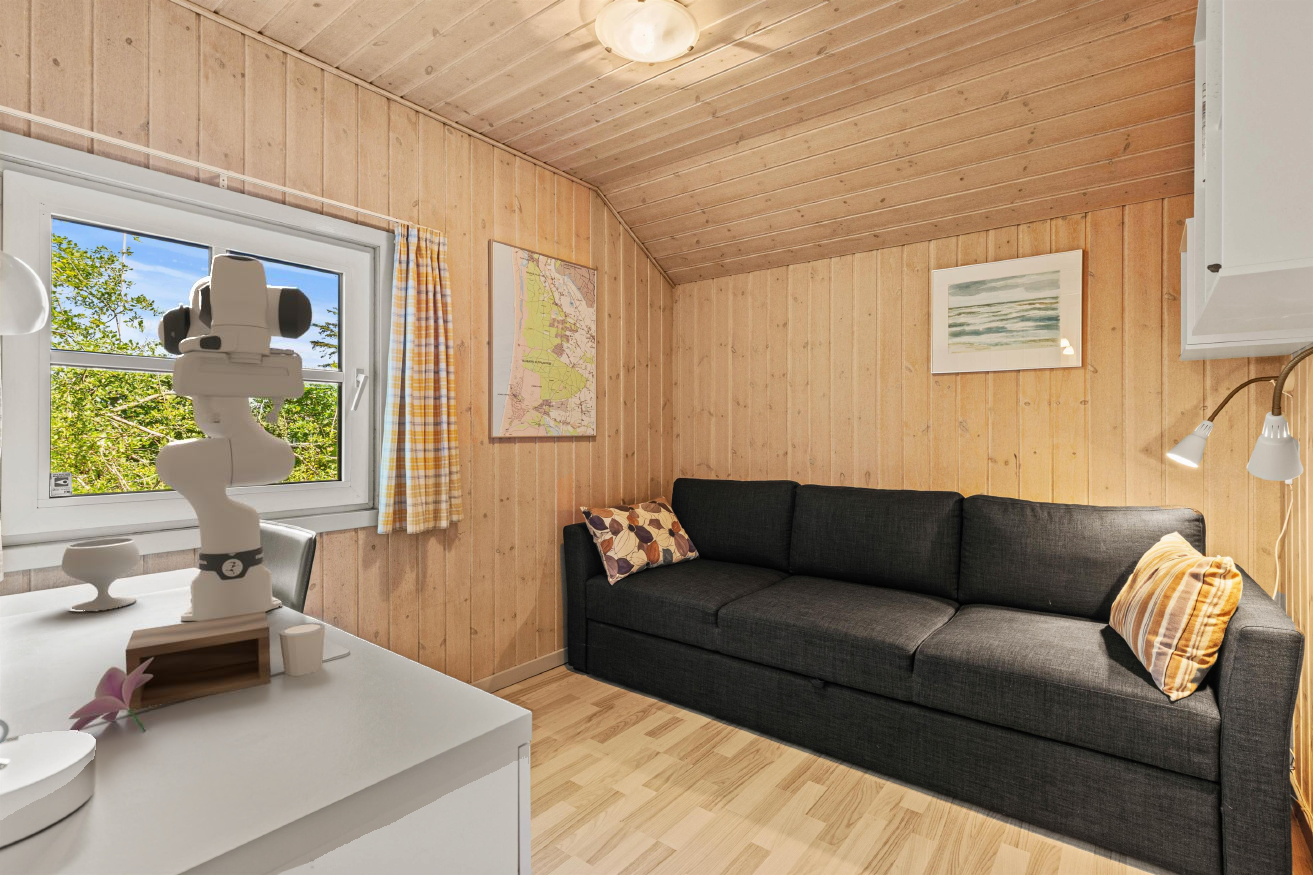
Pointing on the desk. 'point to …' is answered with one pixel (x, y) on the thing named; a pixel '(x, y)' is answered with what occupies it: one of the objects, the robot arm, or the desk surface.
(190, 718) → the desk surface
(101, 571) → the chalice
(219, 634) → the walnut shelf
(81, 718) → the lily
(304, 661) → the cream tapered cup
